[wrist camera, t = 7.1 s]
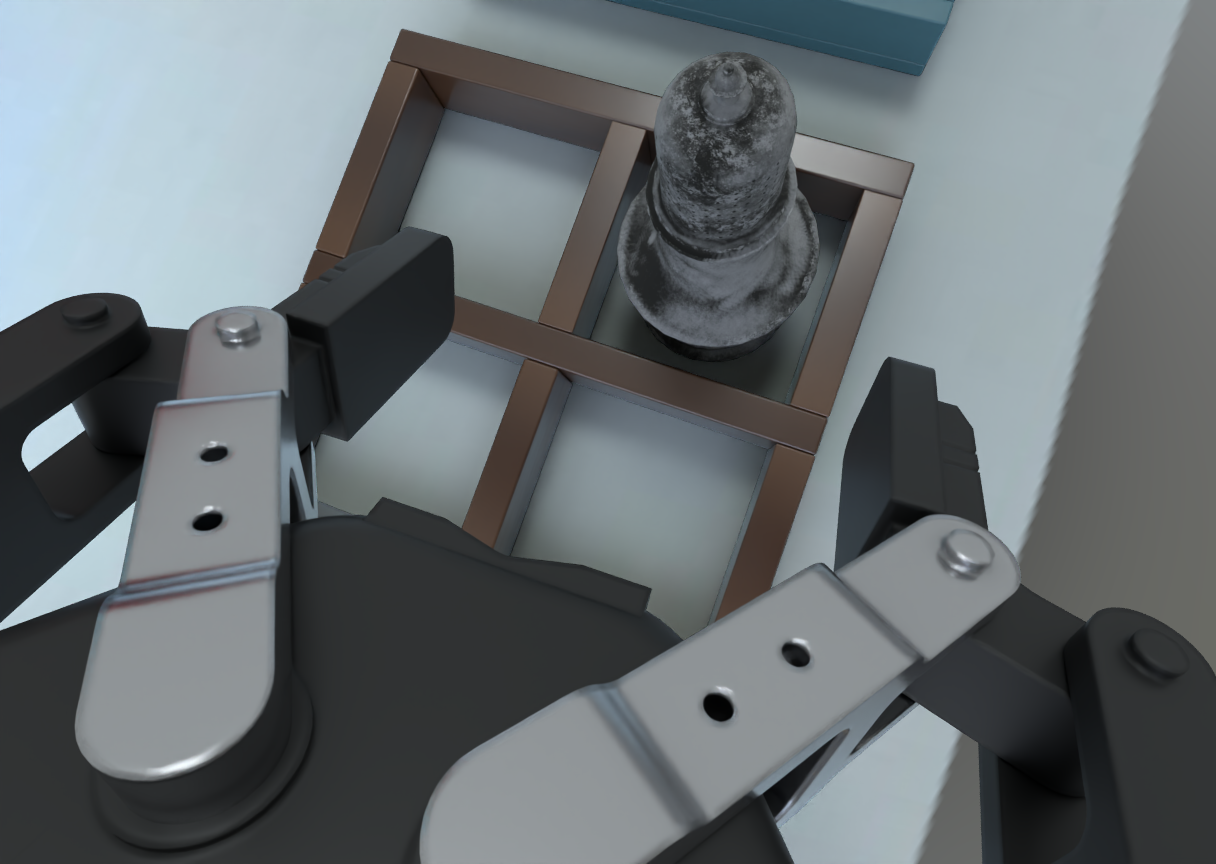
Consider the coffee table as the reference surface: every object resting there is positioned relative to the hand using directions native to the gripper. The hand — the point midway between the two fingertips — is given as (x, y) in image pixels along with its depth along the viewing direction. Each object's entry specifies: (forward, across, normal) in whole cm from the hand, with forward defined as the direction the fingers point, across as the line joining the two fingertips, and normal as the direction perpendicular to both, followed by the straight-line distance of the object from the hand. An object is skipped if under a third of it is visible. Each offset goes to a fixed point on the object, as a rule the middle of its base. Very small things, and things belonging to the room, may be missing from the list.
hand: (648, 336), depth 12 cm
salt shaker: (+11, 0, +5) cm, 12 cm away
